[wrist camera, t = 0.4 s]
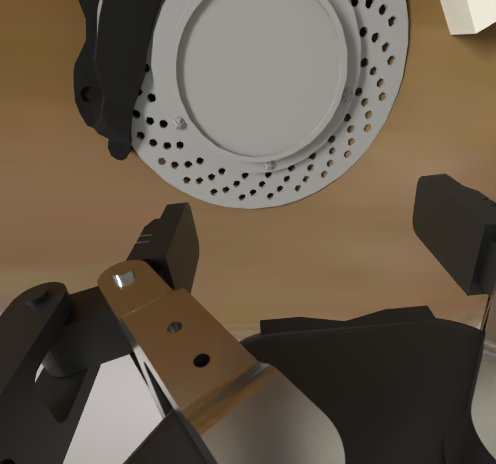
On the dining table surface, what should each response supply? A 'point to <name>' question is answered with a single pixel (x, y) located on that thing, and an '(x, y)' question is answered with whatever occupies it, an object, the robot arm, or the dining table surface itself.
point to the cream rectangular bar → (469, 15)
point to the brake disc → (240, 88)
